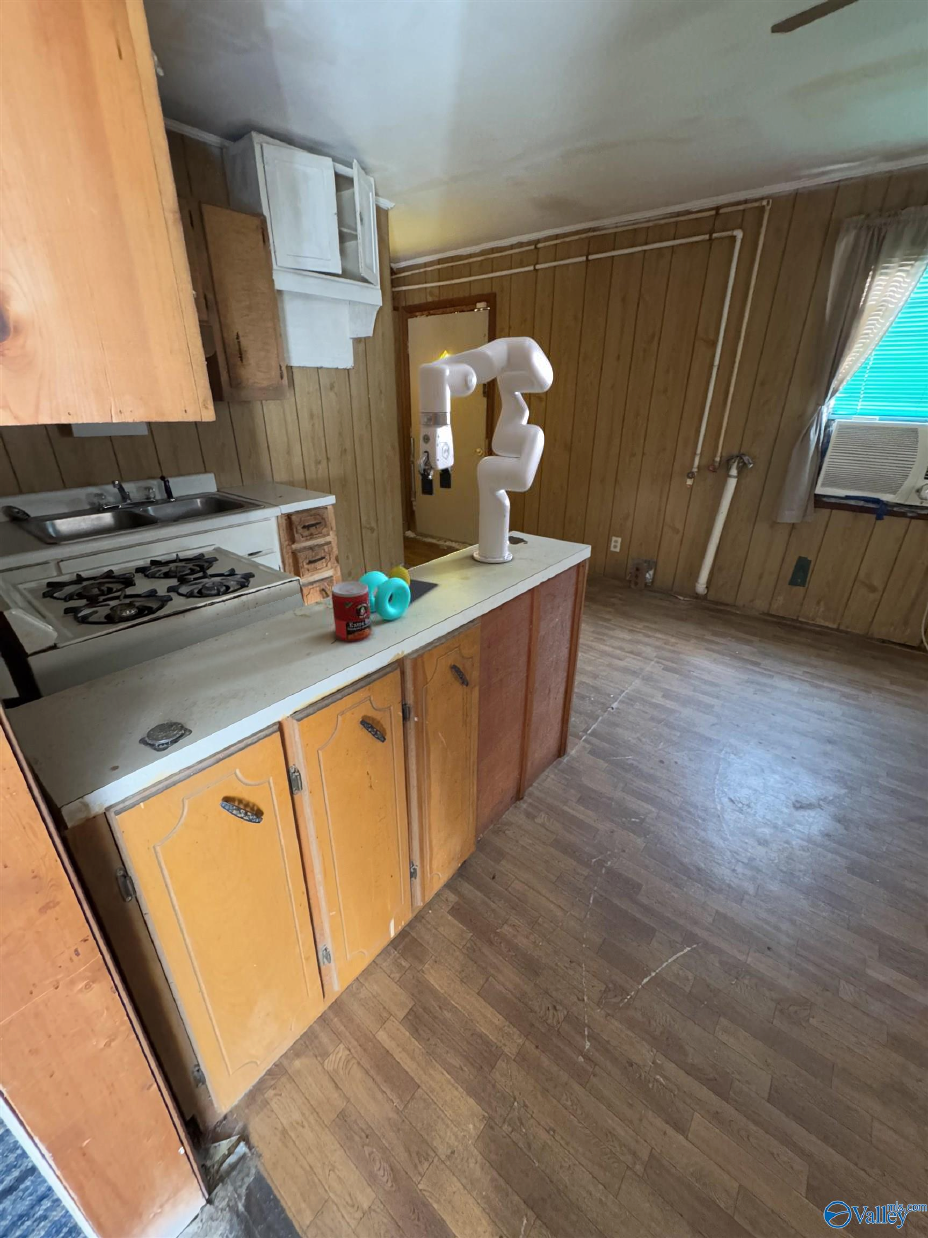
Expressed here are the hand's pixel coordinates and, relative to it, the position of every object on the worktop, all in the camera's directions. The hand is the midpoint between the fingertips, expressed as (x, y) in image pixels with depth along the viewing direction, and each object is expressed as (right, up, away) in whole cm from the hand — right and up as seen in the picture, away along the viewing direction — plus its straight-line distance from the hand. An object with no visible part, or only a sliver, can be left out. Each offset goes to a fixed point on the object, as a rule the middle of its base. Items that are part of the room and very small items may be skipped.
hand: (436, 491), depth 130 cm
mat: (-9, -26, +4) cm, 28 cm away
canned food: (-17, -37, -19) cm, 45 cm away
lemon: (-10, -27, +2) cm, 29 cm away
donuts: (-12, -32, -9) cm, 36 cm away
